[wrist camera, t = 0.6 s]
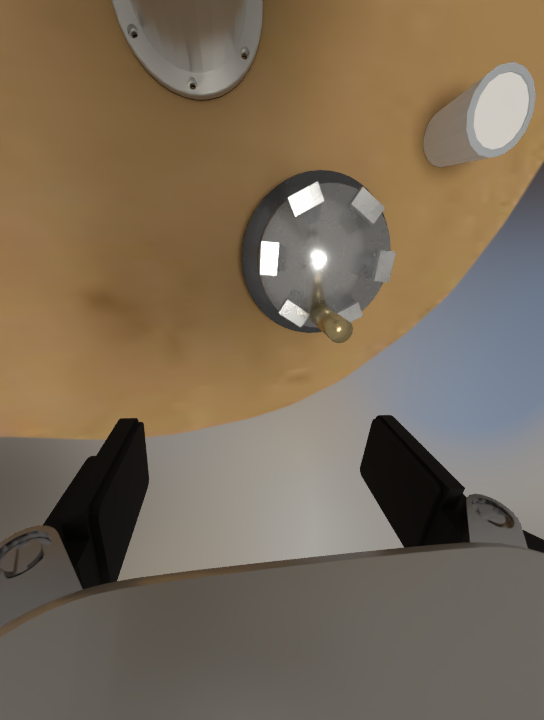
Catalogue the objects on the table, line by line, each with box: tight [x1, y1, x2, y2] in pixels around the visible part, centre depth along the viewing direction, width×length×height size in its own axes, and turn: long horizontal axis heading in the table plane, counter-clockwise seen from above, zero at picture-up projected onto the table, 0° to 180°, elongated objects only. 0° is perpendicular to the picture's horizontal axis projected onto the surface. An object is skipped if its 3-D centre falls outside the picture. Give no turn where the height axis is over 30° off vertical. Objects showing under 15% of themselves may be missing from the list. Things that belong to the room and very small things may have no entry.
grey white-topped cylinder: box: [423, 62, 536, 167], centre depth 28 cm, size 7×7×7 cm
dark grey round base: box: [242, 170, 387, 333], centre depth 33 cm, size 18×18×2 cm
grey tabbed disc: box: [257, 181, 396, 343], centre depth 28 cm, size 15×15×9 cm
